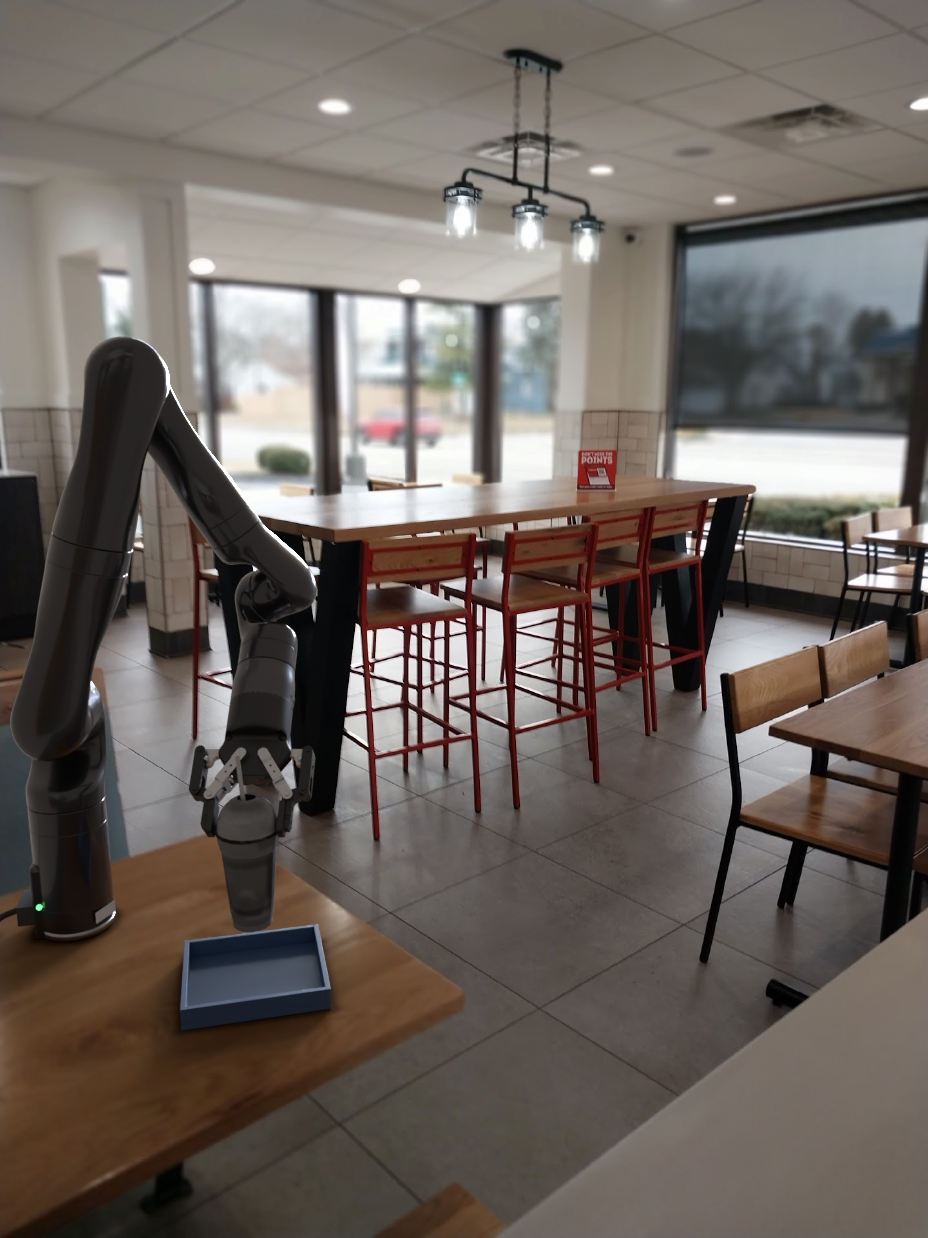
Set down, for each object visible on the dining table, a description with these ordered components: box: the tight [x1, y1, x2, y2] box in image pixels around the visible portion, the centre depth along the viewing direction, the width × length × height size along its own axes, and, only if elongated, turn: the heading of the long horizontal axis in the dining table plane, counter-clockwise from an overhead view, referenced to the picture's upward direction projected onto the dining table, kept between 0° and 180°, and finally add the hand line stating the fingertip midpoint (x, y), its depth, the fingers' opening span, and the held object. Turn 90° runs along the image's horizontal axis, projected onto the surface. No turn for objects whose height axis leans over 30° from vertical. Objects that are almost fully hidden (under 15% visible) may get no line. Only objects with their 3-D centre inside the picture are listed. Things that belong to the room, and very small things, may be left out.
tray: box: [179, 923, 332, 1031], centre depth 111 cm, size 16×14×2 cm
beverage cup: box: [215, 756, 280, 933], centre depth 107 cm, size 7×7×20 cm
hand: (245, 835), depth 106 cm, fingers closed on beverage cup, 7 cm apart
